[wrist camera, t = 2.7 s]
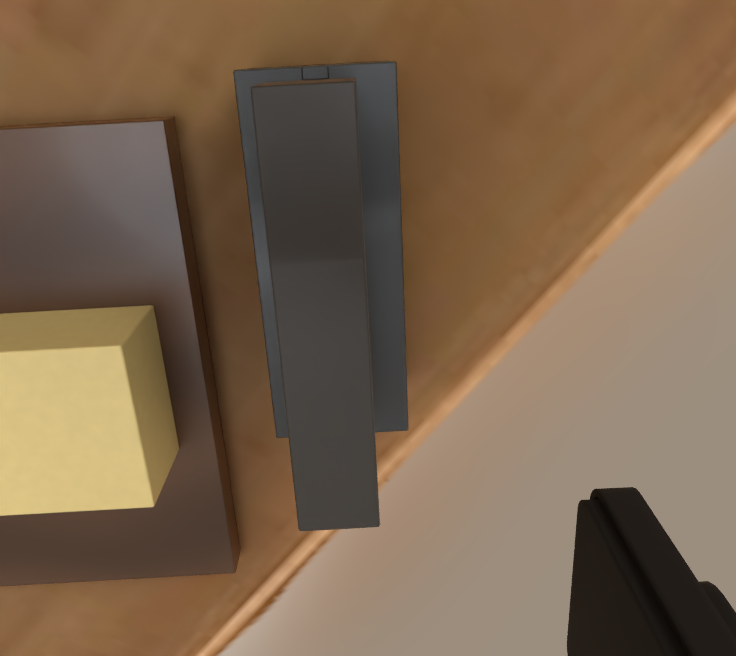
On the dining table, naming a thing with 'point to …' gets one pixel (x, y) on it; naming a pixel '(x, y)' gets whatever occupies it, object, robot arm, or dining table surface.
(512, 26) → the dining table surface
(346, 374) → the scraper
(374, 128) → the scraper stand
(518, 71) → the dining table surface
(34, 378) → the butter
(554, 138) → the dining table surface
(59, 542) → the cutting board
